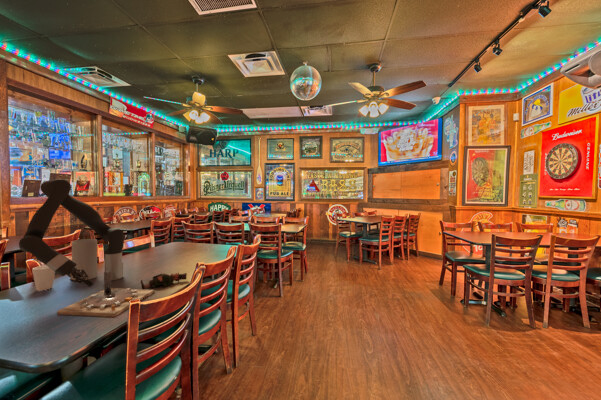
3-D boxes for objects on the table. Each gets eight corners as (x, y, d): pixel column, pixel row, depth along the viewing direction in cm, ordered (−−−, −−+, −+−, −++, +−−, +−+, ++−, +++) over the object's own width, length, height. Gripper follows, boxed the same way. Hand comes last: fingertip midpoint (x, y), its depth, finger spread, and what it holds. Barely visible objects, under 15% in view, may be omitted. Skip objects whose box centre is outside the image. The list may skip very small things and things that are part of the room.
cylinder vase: (82, 282, 153) (82, 243, 153) (66, 280, 155) (66, 242, 155) (102, 275, 166) (102, 239, 165) (86, 274, 167) (86, 238, 167)
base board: (107, 290, 141) (107, 285, 141) (154, 292, 139) (154, 287, 139) (57, 314, 113) (57, 307, 113) (114, 316, 111) (114, 310, 111)
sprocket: (108, 289, 138) (108, 268, 138) (148, 290, 137) (148, 269, 137) (66, 308, 115) (66, 283, 114) (113, 310, 114) (113, 284, 113)
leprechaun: (140, 281, 149) (183, 270, 165) (142, 297, 146) (186, 283, 161) (140, 277, 141) (186, 265, 157) (143, 293, 138) (189, 279, 154)
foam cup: (28, 293, 135) (28, 270, 135) (37, 287, 144) (37, 265, 143) (52, 290, 140) (51, 268, 139) (58, 285, 148) (58, 263, 148)
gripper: (63, 262, 119) (94, 283, 125) (73, 256, 131) (102, 275, 136) (48, 274, 116) (81, 295, 122) (60, 267, 128) (89, 286, 134)
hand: (92, 285), depth 129 cm, fingers closed
